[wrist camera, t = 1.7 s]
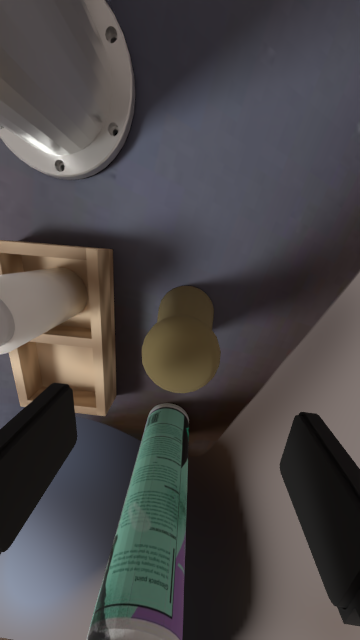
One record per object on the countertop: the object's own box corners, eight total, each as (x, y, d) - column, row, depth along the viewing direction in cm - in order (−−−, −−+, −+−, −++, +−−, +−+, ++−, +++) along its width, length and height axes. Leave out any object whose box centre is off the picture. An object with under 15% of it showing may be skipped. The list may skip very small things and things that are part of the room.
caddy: (17, 241, 21) (-16, 239, 18) (112, 249, 21) (97, 249, 18) (41, 387, 27) (20, 406, 24) (116, 395, 27) (105, 416, 23)
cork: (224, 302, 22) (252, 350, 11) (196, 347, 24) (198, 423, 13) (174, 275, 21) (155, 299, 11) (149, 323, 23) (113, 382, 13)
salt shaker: (35, 265, 21) (-96, 278, 11) (86, 269, 21) (-6, 286, 11) (43, 314, 23) (-66, 360, 13) (89, 318, 22) (12, 369, 13)
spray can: (143, 428, 28) (41, 790, 9) (154, 397, 26) (54, 767, 8) (181, 440, 28) (156, 816, 10) (194, 410, 27) (195, 800, 8)
